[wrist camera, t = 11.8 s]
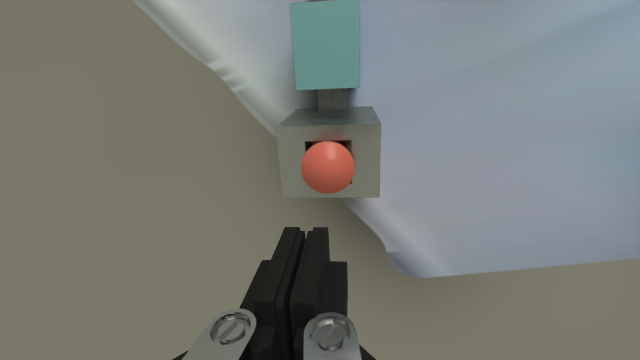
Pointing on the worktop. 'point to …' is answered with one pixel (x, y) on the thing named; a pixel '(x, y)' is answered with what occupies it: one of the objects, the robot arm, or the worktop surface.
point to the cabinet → (346, 125)
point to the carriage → (326, 44)
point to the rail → (332, 96)
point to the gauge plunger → (328, 167)
